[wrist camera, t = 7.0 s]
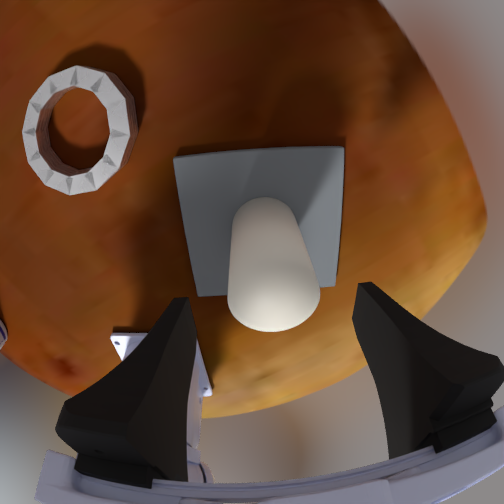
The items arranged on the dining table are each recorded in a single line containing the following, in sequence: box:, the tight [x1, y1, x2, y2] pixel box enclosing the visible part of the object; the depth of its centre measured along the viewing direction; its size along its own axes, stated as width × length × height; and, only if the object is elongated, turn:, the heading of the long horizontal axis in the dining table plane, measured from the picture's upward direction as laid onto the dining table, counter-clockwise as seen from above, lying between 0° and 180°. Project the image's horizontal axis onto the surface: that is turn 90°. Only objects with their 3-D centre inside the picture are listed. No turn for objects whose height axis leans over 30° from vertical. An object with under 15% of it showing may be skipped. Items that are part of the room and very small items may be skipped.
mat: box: [173, 146, 344, 297], centre depth 19 cm, size 10×10×1 cm
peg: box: [227, 197, 320, 332], centre depth 16 cm, size 4×4×7 cm
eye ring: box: [22, 66, 138, 195], centre depth 15 cm, size 8×8×2 cm
